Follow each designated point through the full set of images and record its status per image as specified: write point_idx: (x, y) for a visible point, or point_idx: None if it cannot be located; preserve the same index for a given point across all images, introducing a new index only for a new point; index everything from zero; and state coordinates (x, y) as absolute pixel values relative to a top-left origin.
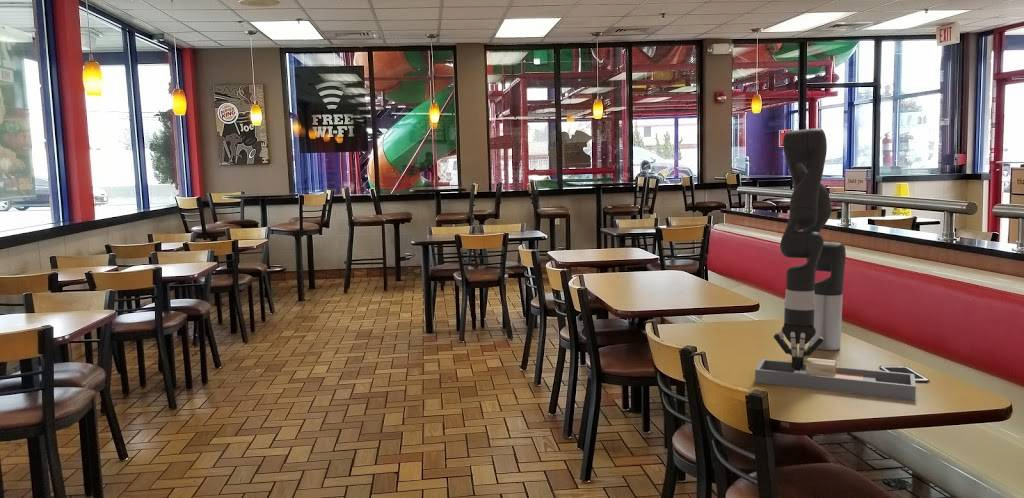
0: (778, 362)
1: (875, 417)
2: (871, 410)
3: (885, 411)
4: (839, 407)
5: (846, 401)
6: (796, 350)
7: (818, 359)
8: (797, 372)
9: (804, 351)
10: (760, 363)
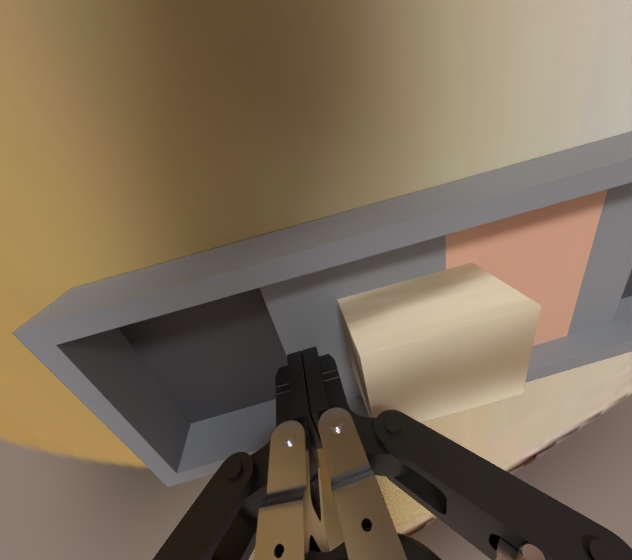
0: (146, 316)
1: (541, 448)
2: (541, 422)
3: (572, 409)
4: (470, 446)
5: (487, 405)
6: (303, 462)
7: (431, 350)
8: (296, 332)
9: (373, 470)
10: (101, 412)
